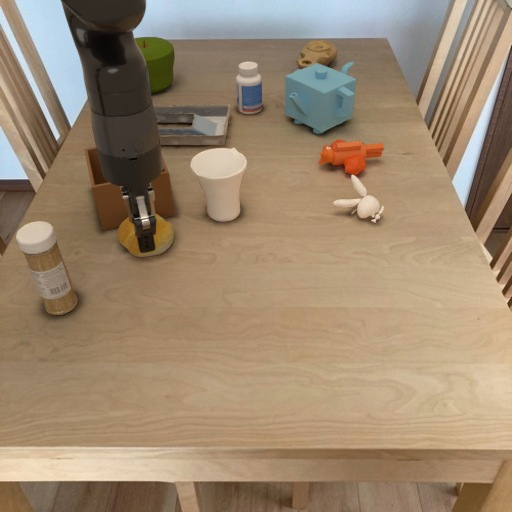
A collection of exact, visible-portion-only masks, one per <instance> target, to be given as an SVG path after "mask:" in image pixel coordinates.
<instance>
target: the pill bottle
mask: <svg viewBox="0 0 512 512" xmlns="http://www.w3.org/2000/svg"><path fill="white" fill-rule="evenodd" d="M262 78H263V77H262V76H261V74H260V73H259V65H258V63H257V62H255V61H243V62H241V63H239V64H238V74H237V75H236V77H235V86H236V87H235V89H236V105H237V106H236V107H237V110H238V111H239V112H240V113H241V114H245V115H254V114H258V113H259V112H261V111H262V110H263V80H262Z"/></svg>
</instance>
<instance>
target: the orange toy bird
mask: <svg viewBox="0 0 512 512" xmlns="http://www.w3.org/2000/svg"><path fill="white" fill-rule="evenodd" d="M384 149H385V145H384V143H383V142H380V143H368V144H365V143H364V142H361V141H360V140H356V141H346V140H343V139H341V138H338V139H336V140H334V141H333V142H331V143H330V144H324V145H323V147H322V150H321V151H320V152H319V154H320V159H319V161H318V165H319V166H321V165H324V164H331V165H332V166H344V173H346V174H350V175H355V176H356V175H359V173H361V172H363V171H365V170H366V169H367V162H366V159H374V158H381V157H382V155H383V152H384Z"/></svg>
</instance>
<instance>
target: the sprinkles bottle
mask: <svg viewBox="0 0 512 512" xmlns="http://www.w3.org/2000/svg"><path fill="white" fill-rule="evenodd" d="M15 240H16V242H17V245H18V247H19V250H21V252H22V253H23V255H24V258H25V260H26V262H27V266H28V269H29V271H30V274H31V276H32V279H33V281H34V284H35V286H36V289H37V291H38V293H39V295H40V297H41V300H42V302H43V304H44V309H45V311H46V312H47V313H48V314H49V315H53V316H62V315H65V314H67V313H69V312H72V310H74V309H75V308H76V306H77V304H78V301H79V300H78V299H79V298H78V295H76V292H75V290H74V287H73V284H72V279H71V276H70V274H69V270H68V268H67V265H66V263H65V261H64V258H63V255H62V252H61V250H60V247H59V244H58V237H57V233H56V231H55V229H54V226H52V224H51V223H50V222H48V221H43V220H37V221H32V222H28V223H26V224H24V225H23V226H22V227H20V228H19V229H18V230H17V232H16V234H15Z"/></svg>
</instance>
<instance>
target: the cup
mask: <svg viewBox="0 0 512 512" xmlns="http://www.w3.org/2000/svg"><path fill="white" fill-rule="evenodd" d="M247 167H248V161H247V158H246V156H245V155H244V154H243V153H241V152H239V151H238V150H237V149H236V147H231V148H226V147H216V148H208V149H205V150H203V151H201V152H199V153H197V154H196V155H194V156H193V157H192V158H191V160H190V170H191V172H192V174H193V175H194V177H195V178H196V179H197V181H198V183H199V186H200V188H201V190H202V193H203V196H204V199H205V204H206V213H207V215H208V216H209V217H210V218H211V219H212V220H214V221H216V222H222V223H224V222H230V221H233V220H235V219H236V218H238V216H239V215H240V213H241V203H240V187H241V184H242V178H243V175H244V174H245V171H246V169H247Z"/></svg>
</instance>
